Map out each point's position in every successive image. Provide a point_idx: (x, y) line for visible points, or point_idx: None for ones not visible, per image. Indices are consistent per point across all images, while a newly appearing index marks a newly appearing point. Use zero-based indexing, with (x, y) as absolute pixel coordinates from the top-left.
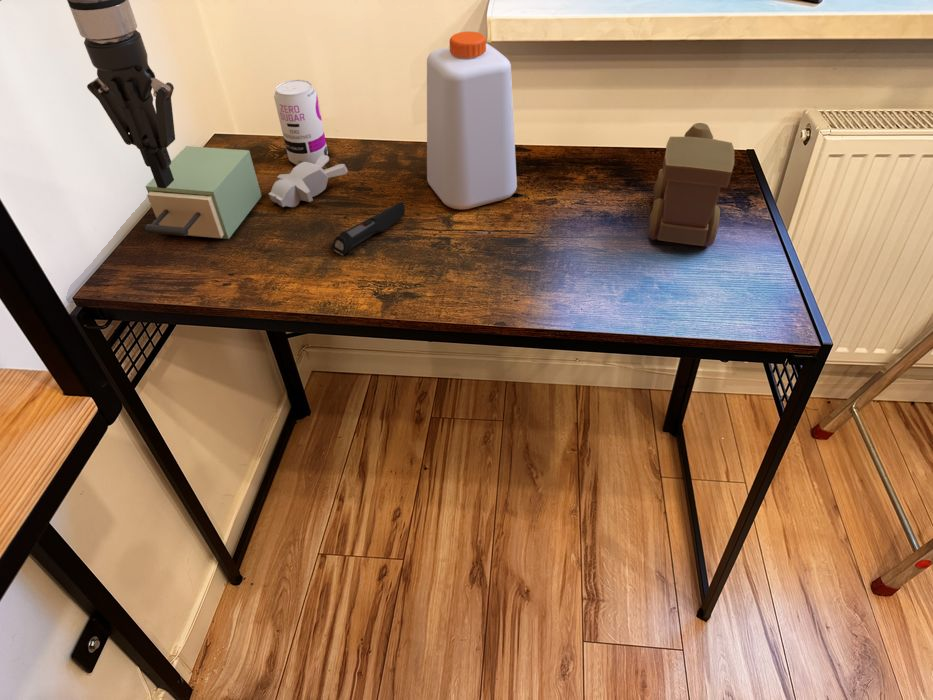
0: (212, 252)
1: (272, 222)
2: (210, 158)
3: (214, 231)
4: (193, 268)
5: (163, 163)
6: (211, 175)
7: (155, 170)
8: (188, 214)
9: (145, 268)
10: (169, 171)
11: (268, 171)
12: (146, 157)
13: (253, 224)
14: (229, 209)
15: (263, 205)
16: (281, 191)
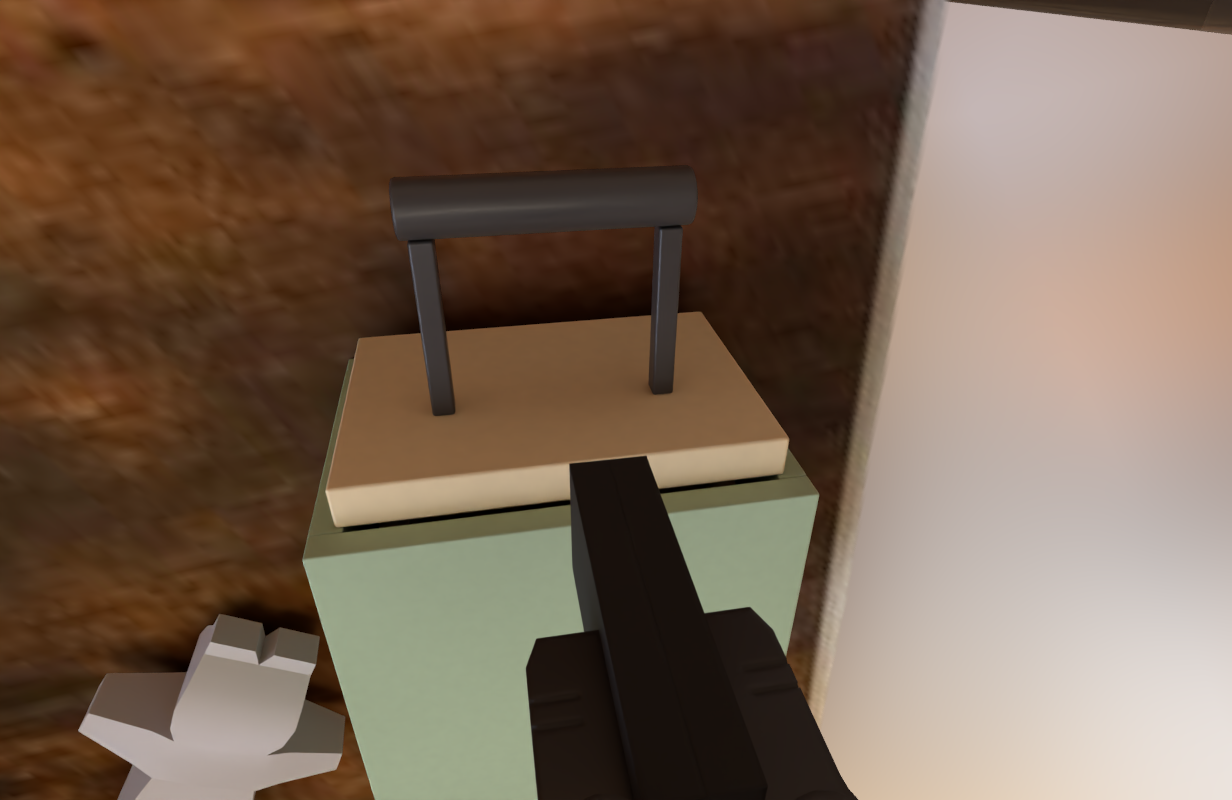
0: (361, 236)
1: (221, 520)
2: None
3: (383, 355)
4: (373, 66)
5: (560, 679)
6: (452, 682)
7: (641, 582)
8: (519, 396)
9: (663, 13)
10: (585, 621)
11: None
12: (734, 700)
13: (306, 486)
14: None
15: None
16: (226, 690)
